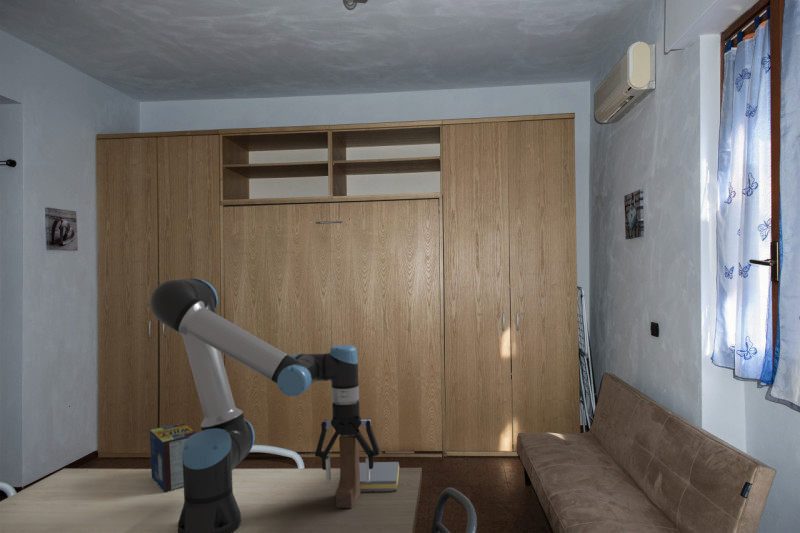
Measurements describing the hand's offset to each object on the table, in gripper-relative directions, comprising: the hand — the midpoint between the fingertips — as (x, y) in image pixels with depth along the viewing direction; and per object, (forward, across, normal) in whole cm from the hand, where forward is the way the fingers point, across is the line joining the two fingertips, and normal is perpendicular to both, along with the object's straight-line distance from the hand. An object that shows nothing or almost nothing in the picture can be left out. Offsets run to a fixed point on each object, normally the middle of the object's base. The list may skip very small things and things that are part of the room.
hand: (348, 480), depth 141 cm
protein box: (+6, -58, +16) cm, 60 cm away
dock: (+6, +6, +13) cm, 15 cm away
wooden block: (+6, 0, 0) cm, 6 cm away
